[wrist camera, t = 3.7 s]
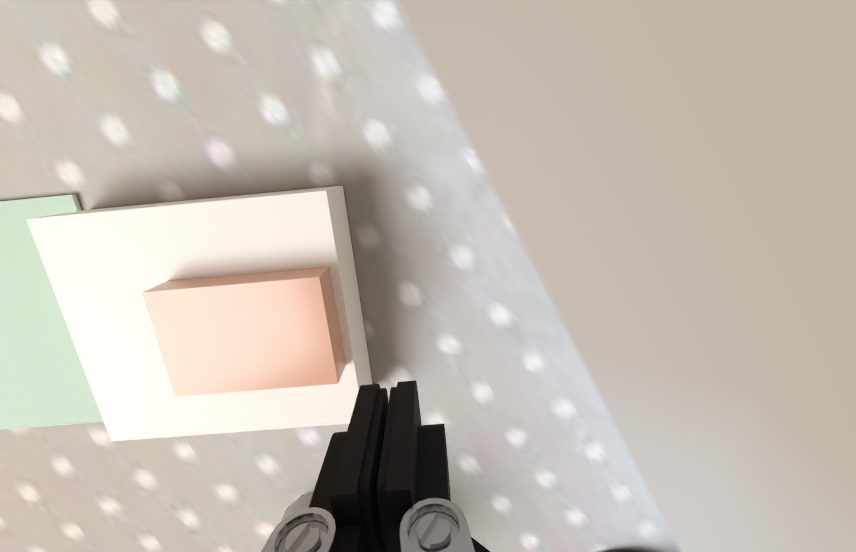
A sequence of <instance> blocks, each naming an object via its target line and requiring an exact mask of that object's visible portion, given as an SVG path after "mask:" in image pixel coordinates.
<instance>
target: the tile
mask: <svg viewBox="0 0 856 552" xmlns="http://www.w3.org/2000/svg"><path fill="white" fill-rule="evenodd" d="M142 294H143V297H144V300H145V304H146V307H147V310H148V313H149V316H150V320H151V323H152V326H153V329H154V332H155V335H156V339H157V342H158V345H159V348H160V351H161V354H162V358H163V361H164V364H165V367H166V370H167V373H168V377H169V380H170V383H171V386H172V389H173V392H174V396H187V395H200V394H213V393H226V392H239V391H251V390H264V389H277V388H290V387H303V386H315V385H328V384H338V383H339V381H340V378H341V376H342V373H343V371H344V369H345V366H346V362H345V357H344V351H343V345H342V339H341V333H340V327H339V321H338V315H337V309H336V303H335V298H334V292H333V286H332V280H331V274H330V268H329V267H317V268H306V269H295V270H283V271H272V272H261V273H249V274H238V275H227V276H215V277H204V278H193V279H181V280H170V281H166V282H164V283H162V284H159V285H157V286H155V287H153V288H151V289H149V290H146V291H144V292H142Z"/></svg>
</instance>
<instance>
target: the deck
mask: <svg viewBox="0 0 856 552" xmlns="http://www.w3.org/2000/svg"><path fill="white" fill-rule="evenodd" d="M26 220H27V223H28V225H29V228H30V231H31V233H32V236H33V238H34V241H35V244H36V246H37V249H38V251H39V254H40V257H41V259H42V262H43V265H44V267H45V270H46V272H47V275H48V278H49V280H50V283H51V285H52V288H53V291H54V293H55V296H56V299H57V301H58V304H59V306H60V309H61V312H62V314H63V317H64V319H65V322H66V325H67V327H68V330H69V333H70V335H71V338H72V340H73V343H74V346H75V348H76V351H77V353H78V356H79V359H80V361H81V364H82V367H83V369H84V372H85V374H86V377H87V380H88V382H89V385H90V387H91V390H92V393H93V395H94V398H95V401H96V403H97V406H98V408H99V411H100V414H101V416H102V419H103V421H104V424H105V427H106V429H107V432H108V435H109V437H110V440H111V441H122V440H136V439H149V438H162V437H176V436H189V435H203V434H216V433H229V432H243V431H256V430H270V429H283V428H296V427H310V426H323V425H336V424H349V423H350V420H351V416H352V413H353V409H354V405H355V402H356V398H357V395H358V391H359V388H360V386H361V385H369V384H373V383H372V376H371V370H370V363H369V356H368V350H367V343H366V336H365V330H364V323H363V316H362V310H361V303H360V296H359V290H358V283H357V276H356V270H355V263H354V256H353V250H352V243H351V236H350V230H349V223H348V217H347V210H346V203H345V197H344V190H343V186H333V187H322V188H312V189H301V190H291V191H280V192H270V193H259V194H249V195H238V196H228V197H217V198H207V199H196V200H186V201H175V202H164V203H154V204H143V205H133V206H122V207H112V208H101V209H91V210H83V211H77V212H70V213H63V214H57V215H50V216H43V217H36V218H30V219H26ZM317 267H329V268H330V274H331V280H332V286H333V292H334V298H335V303H336V309H337V315H338V321H339V327H340V333H341V339H342V345H343V351H344V357H345V362H346V366H345V369H344V371H343V373H342V376H341V378H340V381H339V383H338V384H328V385H315V386H303V387H290V388H277V389H264V390H251V391H239V392H226V393H213V394H200V395H187V396H174V392H173V389H172V386H171V383H170V380H169V377H168V373H167V370H166V367H165V364H164V361H163V358H162V354H161V351H160V348H159V345H158V342H157V339H156V335H155V332H154V329H153V326H152V323H151V320H150V316H149V313H148V310H147V307H146V304H145V300H144V297H143V294H142V292H144V291H146V290H149V289H151V288H153V287H155V286H157V285H159V284H162V283H164V282H166V281H170V280H181V279H193V278H204V277H215V276H227V275H238V274H249V273H261V272H272V271H283V270H295V269H306V268H317Z"/></svg>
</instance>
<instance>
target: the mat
mask: <svg viewBox="0 0 856 552" xmlns="http://www.w3.org/2000/svg"><path fill="white" fill-rule="evenodd" d="M77 211H82V210H81V207H80V205H79V202H78V199H77V196H76V194H72V195H62V196H51V197H41V198H31V199H20V200H10V201H0V430H2V429H15V428H28V427H41V426H54V425H67V424H80V423H94V422H104V421H103V419H102V416H101V414H100V411H99V408H98V406H97V403H96V401H95V398H94V395H93V393H92V390H91V387H90V385H89V382H88V380H87V377H86V374H85V372H84V369H83V367H82V364H81V361H80V359H79V356H78V353H77V351H76V348H75V346H74V343H73V340H72V338H71V335H70V333H69V330H68V327H67V325H66V322H65V319H64V317H63V314H62V312H61V309H60V306H59V304H58V301H57V299H56V296H55V293H54V291H53V288H52V285H51V283H50V280H49V278H48V275H47V272H46V270H45V267H44V265H43V262H42V259H41V257H40V254H39V251H38V249H37V246H36V244H35V241H34V238H33V236H32V233H31V231H30V228H29V225H28V223H27V220H26V219H30V218H36V217H43V216H50V215H57V214H63V213H70V212H77Z"/></svg>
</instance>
